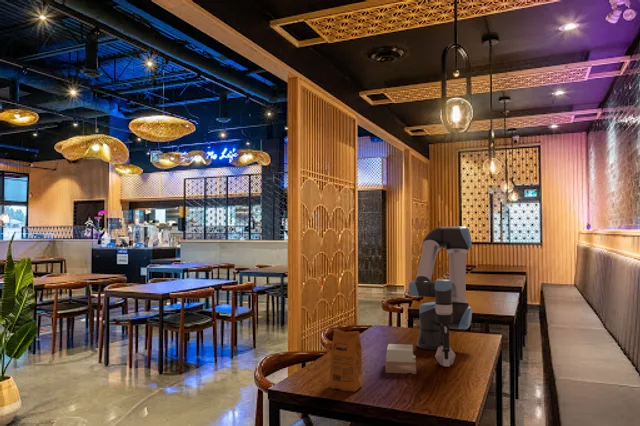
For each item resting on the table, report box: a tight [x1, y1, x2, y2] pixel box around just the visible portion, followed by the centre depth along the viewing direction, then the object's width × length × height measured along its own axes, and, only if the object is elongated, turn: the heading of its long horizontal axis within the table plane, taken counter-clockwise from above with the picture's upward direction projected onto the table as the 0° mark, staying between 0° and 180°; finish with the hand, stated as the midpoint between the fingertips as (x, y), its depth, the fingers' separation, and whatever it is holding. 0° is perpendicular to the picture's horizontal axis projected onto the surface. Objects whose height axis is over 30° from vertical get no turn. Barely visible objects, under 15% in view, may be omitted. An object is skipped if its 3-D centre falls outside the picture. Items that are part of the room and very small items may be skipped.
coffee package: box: [329, 328, 363, 392], centre depth 175 cm, size 10×12×22 cm
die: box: [434, 346, 456, 366], centre depth 204 cm, size 8×9×10 cm
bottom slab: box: [384, 354, 417, 375], centre depth 198 cm, size 13×13×5 cm
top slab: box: [386, 343, 414, 362], centre depth 198 cm, size 11×11×5 cm
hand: (445, 363), depth 204 cm, fingers closed on die, 9 cm apart
